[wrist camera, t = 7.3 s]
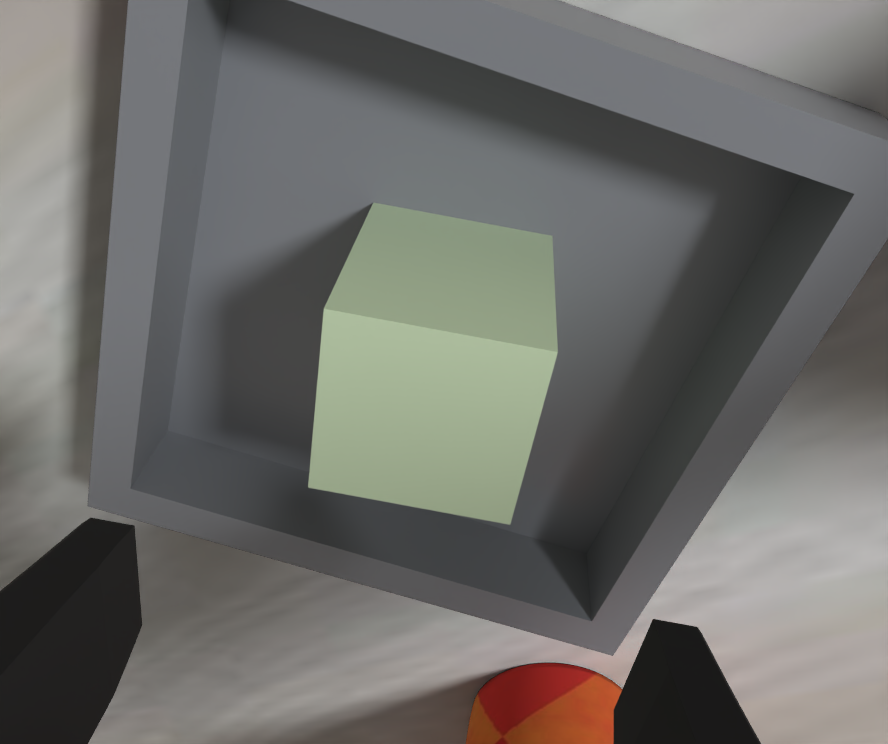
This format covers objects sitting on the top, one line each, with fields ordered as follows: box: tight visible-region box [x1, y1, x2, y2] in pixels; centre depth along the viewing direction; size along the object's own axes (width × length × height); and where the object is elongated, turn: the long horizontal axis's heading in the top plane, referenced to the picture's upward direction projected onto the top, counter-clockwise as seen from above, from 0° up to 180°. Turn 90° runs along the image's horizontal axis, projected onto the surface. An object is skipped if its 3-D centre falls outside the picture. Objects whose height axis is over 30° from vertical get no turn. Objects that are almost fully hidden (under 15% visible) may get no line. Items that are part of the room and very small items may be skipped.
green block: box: [308, 203, 558, 525], centre depth 17 cm, size 4×4×5 cm
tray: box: [88, 0, 888, 656], centre depth 18 cm, size 14×14×3 cm
